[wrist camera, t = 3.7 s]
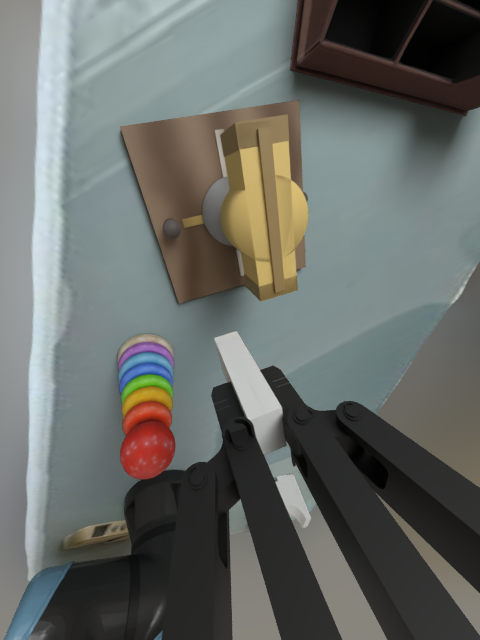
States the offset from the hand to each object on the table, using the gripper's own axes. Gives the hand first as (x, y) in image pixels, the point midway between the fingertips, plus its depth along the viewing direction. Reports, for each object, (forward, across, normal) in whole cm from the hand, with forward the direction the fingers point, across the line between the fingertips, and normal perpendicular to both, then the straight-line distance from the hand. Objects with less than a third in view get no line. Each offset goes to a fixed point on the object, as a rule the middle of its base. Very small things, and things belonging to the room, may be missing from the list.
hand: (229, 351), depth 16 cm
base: (+21, +7, +6) cm, 23 cm away
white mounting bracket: (+21, +4, -69) cm, 72 cm away
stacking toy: (+21, -10, -11) cm, 26 cm away
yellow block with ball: (+12, +7, +6) cm, 15 cm away
